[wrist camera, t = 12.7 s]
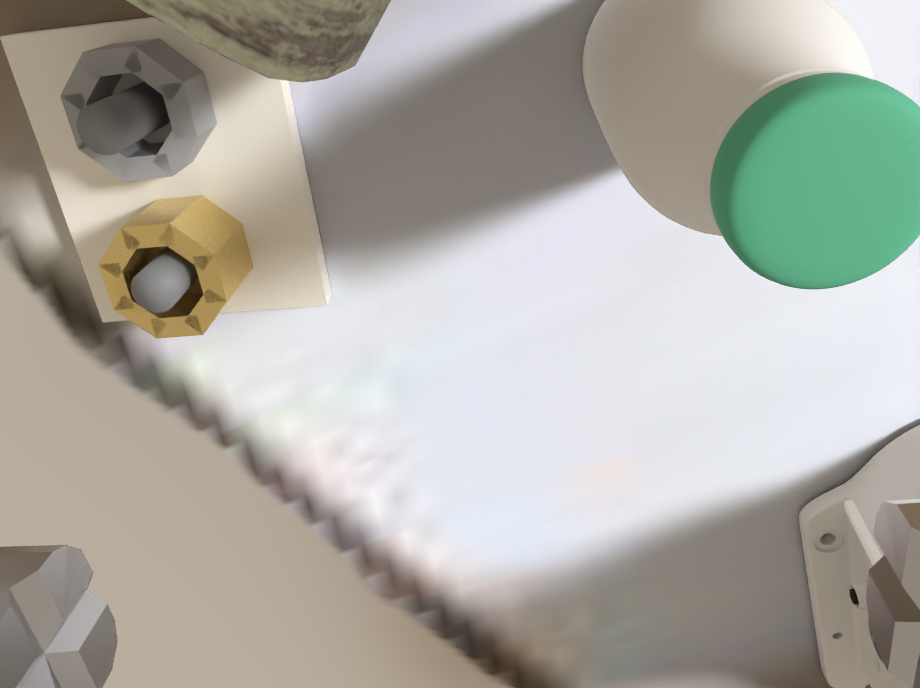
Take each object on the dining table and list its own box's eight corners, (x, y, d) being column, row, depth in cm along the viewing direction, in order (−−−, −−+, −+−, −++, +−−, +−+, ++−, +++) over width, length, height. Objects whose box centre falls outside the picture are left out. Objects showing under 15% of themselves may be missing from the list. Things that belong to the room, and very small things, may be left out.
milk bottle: (551, 103, 35) (587, 281, 18) (634, -75, 32) (781, -75, 14) (701, 171, 36) (876, 402, 19) (798, 5, 33) (1124, 98, 15)
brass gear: (234, 191, 37) (205, 220, 33) (260, 296, 40) (235, 332, 36) (125, 202, 38) (85, 230, 34) (158, 304, 40) (124, 340, 37)
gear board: (332, 295, 41) (304, 352, 35) (113, 312, 42) (52, 370, 36) (272, 2, 34) (225, 17, 29) (14, 33, 35) (-77, 53, 30)
